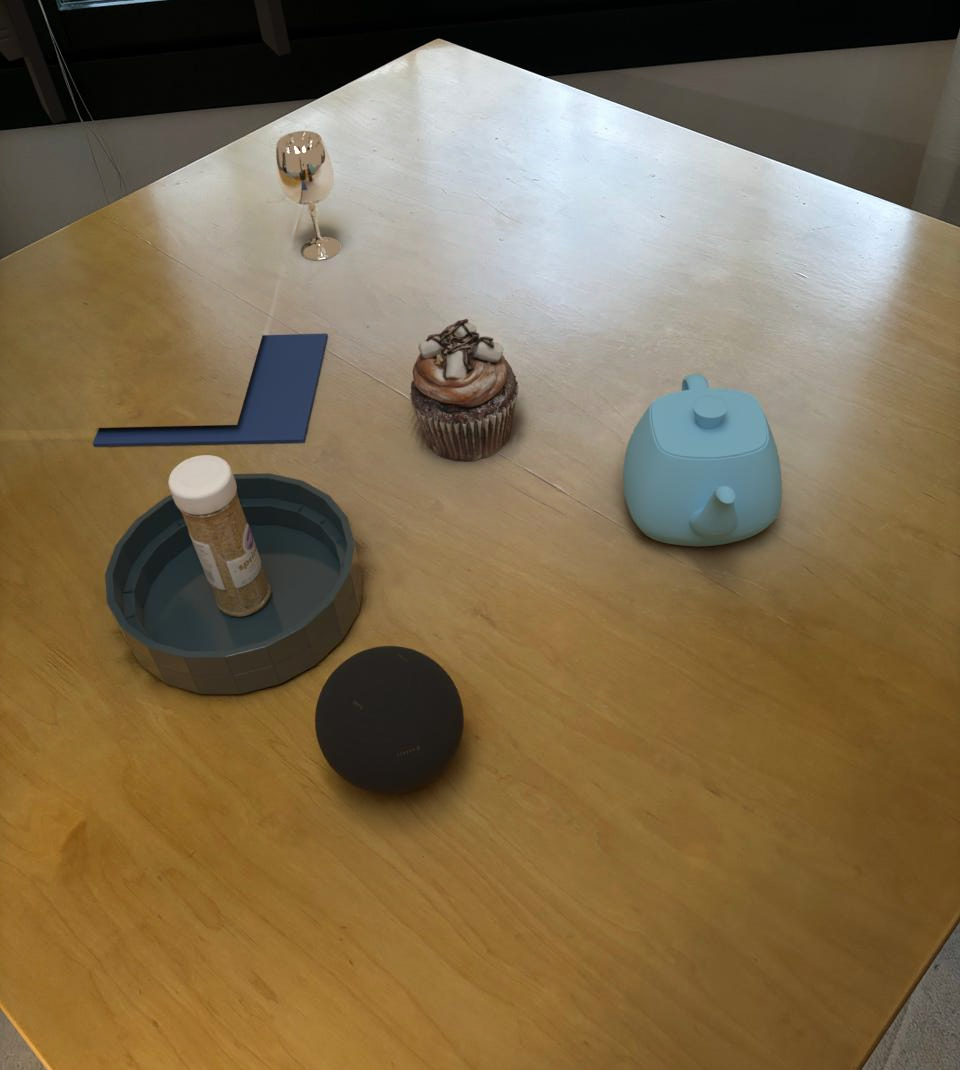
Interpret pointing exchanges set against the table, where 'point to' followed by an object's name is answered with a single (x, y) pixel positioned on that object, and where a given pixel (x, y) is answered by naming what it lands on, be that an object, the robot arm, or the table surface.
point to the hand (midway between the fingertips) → (168, 79)
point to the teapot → (702, 467)
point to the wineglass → (307, 183)
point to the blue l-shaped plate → (251, 401)
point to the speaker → (389, 720)
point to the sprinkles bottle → (220, 533)
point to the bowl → (190, 605)
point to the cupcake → (463, 393)
